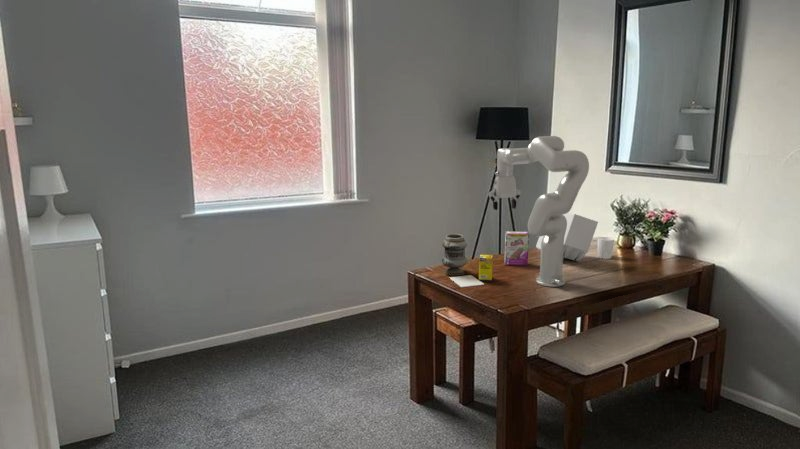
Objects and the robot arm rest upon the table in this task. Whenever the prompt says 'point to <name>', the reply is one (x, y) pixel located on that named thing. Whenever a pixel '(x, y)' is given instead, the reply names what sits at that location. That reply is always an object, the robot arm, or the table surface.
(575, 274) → the table surface
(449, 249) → the apothecary jar
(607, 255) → the white cup
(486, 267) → the supplement box
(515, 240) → the candy bar box
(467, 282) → the felt mat
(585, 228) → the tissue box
